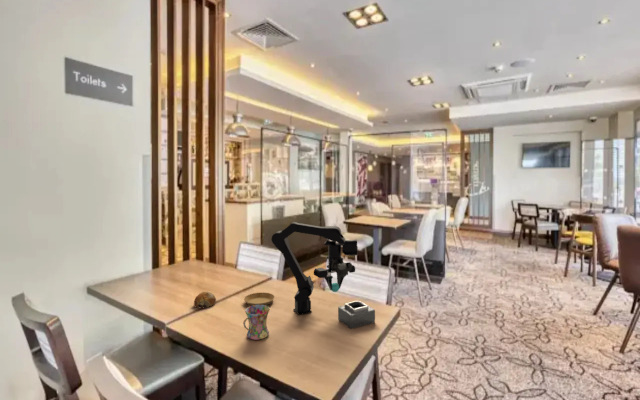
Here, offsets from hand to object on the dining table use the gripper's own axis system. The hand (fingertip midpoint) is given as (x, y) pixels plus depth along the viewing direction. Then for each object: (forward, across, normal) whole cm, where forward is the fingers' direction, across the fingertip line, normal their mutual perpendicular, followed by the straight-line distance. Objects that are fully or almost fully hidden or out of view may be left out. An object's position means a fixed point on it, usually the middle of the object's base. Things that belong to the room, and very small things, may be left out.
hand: (334, 289), depth 147 cm
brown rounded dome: (+11, -50, +39) cm, 64 cm away
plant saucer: (+11, -26, +29) cm, 40 cm away
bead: (+1, 0, 0) cm, 1 cm away
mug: (+11, -38, -4) cm, 40 cm away
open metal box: (+11, +4, -12) cm, 16 cm away
